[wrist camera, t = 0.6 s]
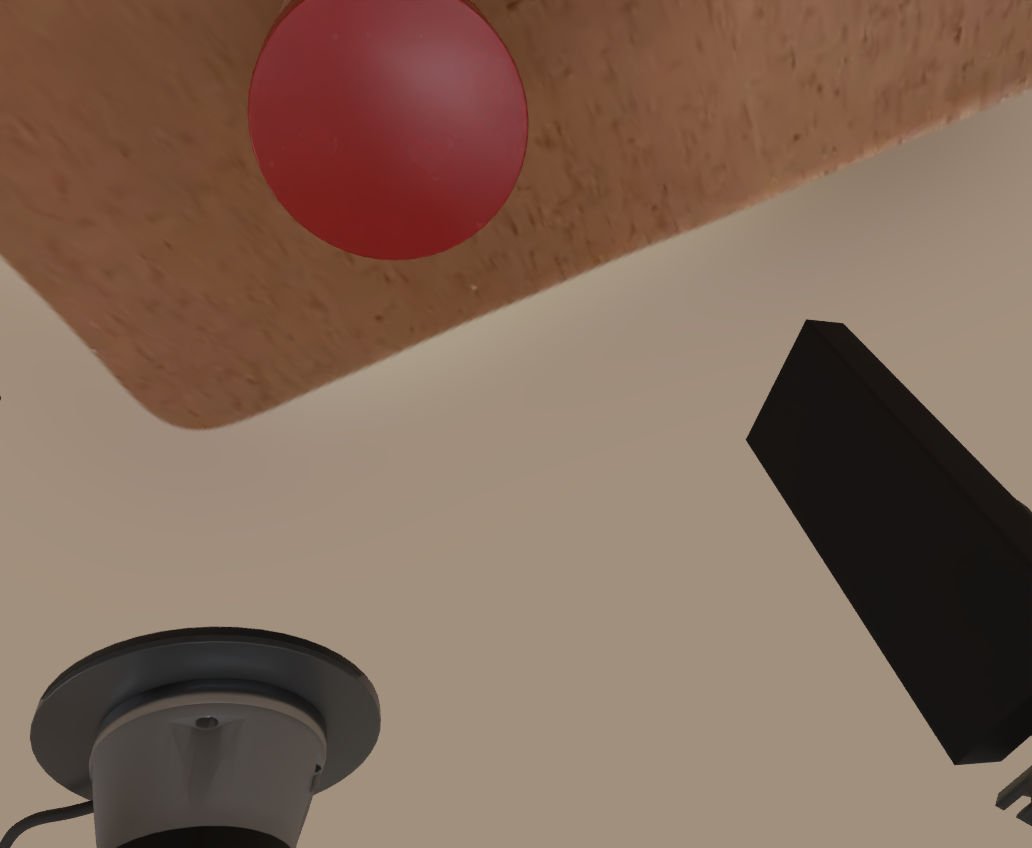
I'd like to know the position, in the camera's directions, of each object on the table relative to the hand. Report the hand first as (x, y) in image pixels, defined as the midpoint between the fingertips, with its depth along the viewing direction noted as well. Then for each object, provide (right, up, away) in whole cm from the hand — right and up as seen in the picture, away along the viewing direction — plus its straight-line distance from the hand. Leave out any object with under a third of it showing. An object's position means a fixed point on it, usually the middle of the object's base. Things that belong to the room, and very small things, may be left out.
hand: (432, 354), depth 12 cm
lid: (-2, +7, +8) cm, 11 cm away
